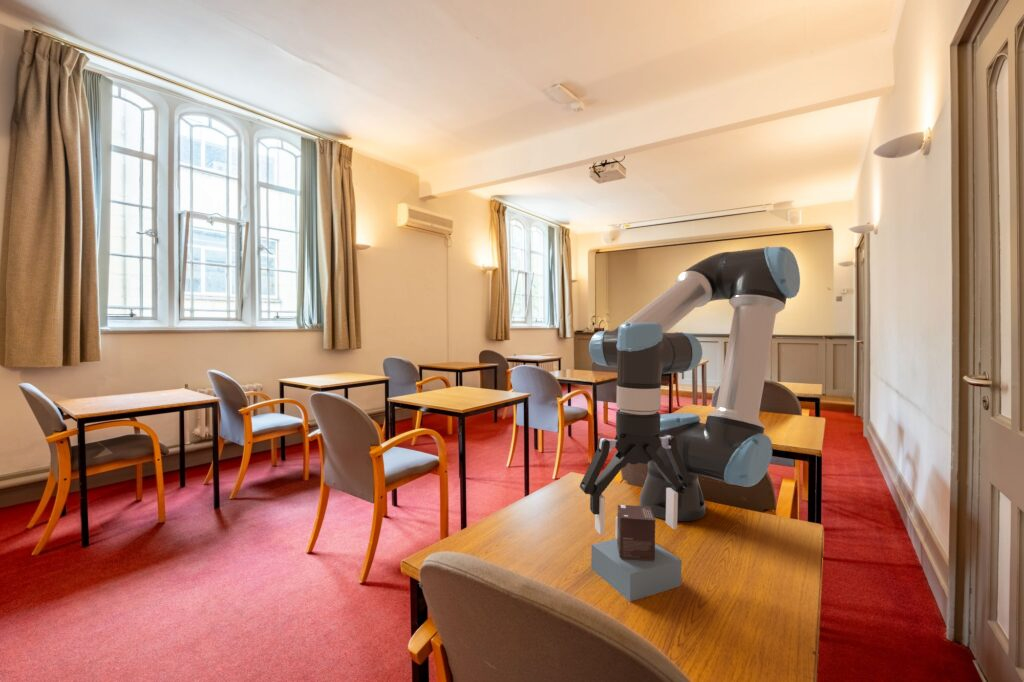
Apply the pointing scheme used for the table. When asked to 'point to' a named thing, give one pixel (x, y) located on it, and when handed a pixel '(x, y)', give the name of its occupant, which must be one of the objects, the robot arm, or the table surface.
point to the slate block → (636, 571)
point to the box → (636, 532)
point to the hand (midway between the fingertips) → (635, 528)
